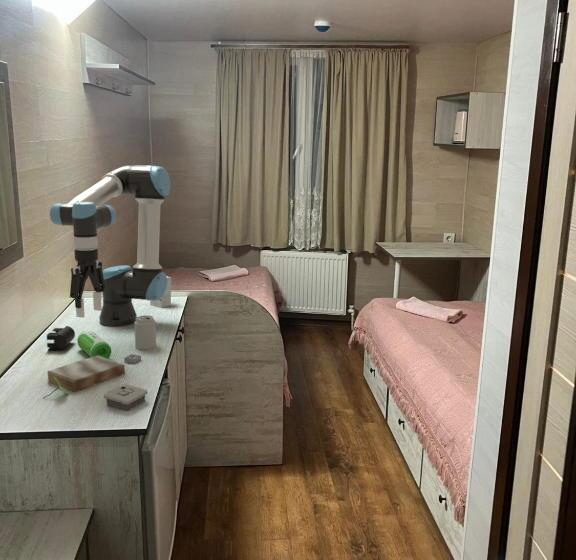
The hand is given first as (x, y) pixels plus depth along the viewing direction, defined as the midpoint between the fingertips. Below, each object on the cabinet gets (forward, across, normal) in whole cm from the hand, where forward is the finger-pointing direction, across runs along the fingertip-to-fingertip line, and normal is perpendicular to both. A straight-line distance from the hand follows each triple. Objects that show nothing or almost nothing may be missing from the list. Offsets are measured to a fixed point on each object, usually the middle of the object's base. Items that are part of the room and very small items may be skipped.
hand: (89, 313), depth 213 cm
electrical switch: (+18, +27, +28) cm, 43 cm away
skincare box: (+16, -68, -13) cm, 71 cm away
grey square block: (+17, -3, +15) cm, 23 cm away
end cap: (+17, -7, -18) cm, 26 cm away
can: (+17, -18, +11) cm, 27 cm away
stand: (+17, +14, +9) cm, 24 cm away
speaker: (+17, -4, -2) cm, 18 cm away
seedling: (+18, +33, +7) cm, 38 cm away
